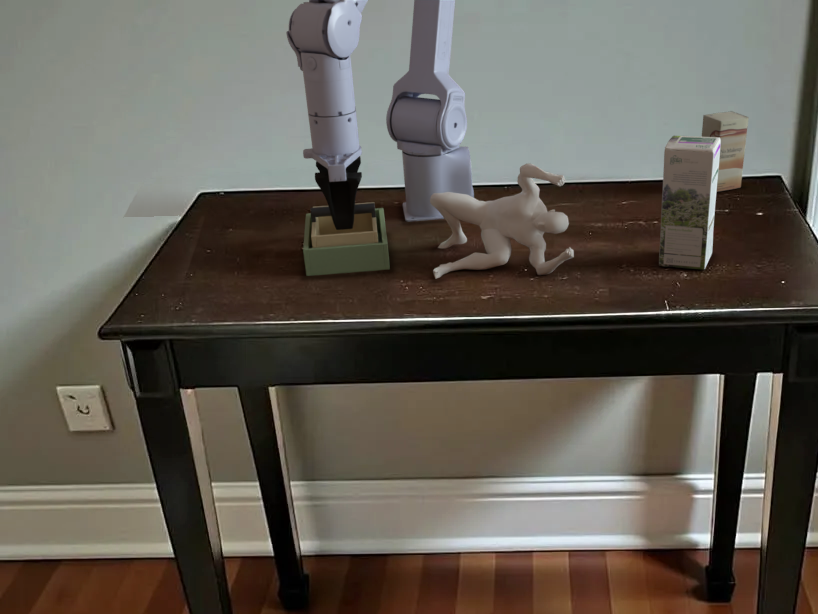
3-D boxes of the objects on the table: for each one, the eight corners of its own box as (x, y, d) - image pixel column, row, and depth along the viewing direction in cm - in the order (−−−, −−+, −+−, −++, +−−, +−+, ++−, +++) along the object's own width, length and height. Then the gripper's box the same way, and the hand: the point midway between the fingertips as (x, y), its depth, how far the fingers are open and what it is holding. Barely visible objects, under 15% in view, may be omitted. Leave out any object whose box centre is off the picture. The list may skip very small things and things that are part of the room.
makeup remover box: (713, 193, 152) (719, 121, 147) (696, 185, 156) (700, 114, 150) (743, 187, 154) (750, 115, 149) (725, 180, 157) (731, 109, 152)
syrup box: (712, 254, 132) (722, 135, 124) (705, 271, 127) (714, 148, 119) (666, 251, 133) (673, 132, 126) (657, 267, 129) (663, 146, 121)
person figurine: (407, 189, 123) (561, 157, 120) (423, 181, 135) (563, 152, 132) (431, 300, 127) (580, 271, 125) (445, 282, 139) (581, 256, 136)
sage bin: (385, 234, 143) (383, 207, 141) (390, 271, 131) (387, 243, 129) (309, 240, 142) (305, 213, 140) (306, 278, 130) (303, 250, 128)
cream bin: (377, 234, 142) (373, 189, 139) (380, 266, 132) (375, 218, 129) (317, 239, 141) (311, 193, 138) (315, 271, 131) (309, 223, 128)
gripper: (300, 100, 133) (313, 207, 140) (296, 128, 121) (311, 244, 128) (356, 96, 134) (367, 203, 141) (358, 124, 121) (370, 239, 129)
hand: (344, 222), depth 134 cm, fingers open, 4 cm apart
